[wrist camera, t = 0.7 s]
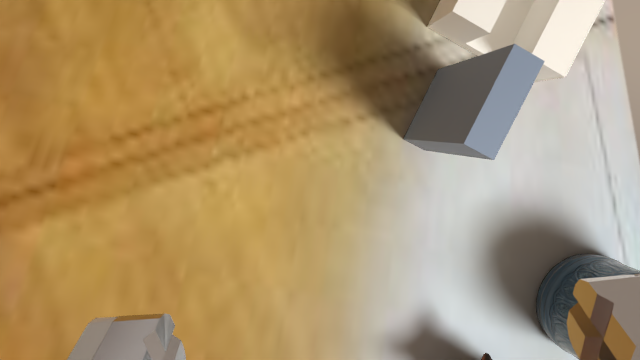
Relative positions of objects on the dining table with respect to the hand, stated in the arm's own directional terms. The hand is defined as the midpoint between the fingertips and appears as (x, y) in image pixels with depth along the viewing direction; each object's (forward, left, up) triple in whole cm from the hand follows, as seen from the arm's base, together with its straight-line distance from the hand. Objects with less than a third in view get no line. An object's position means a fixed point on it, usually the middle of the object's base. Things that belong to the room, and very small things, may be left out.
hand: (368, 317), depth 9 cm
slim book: (0, +18, -42) cm, 46 cm away
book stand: (-9, +30, -42) cm, 52 cm away
